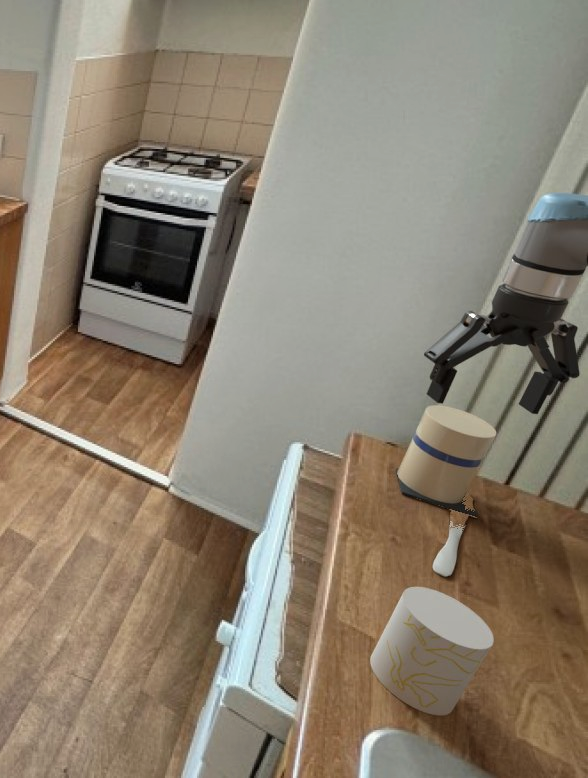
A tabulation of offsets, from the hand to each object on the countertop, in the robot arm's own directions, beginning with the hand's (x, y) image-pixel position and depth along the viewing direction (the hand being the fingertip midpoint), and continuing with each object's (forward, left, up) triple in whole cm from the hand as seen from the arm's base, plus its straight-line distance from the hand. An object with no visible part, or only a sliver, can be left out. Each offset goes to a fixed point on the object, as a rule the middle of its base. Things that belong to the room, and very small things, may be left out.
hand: (480, 404), depth 101 cm
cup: (+9, +47, -20) cm, 52 cm away
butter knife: (-1, +10, -20) cm, 22 cm away
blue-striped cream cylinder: (+3, -6, -12) cm, 14 cm away
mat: (0, 0, -20) cm, 20 cm away
